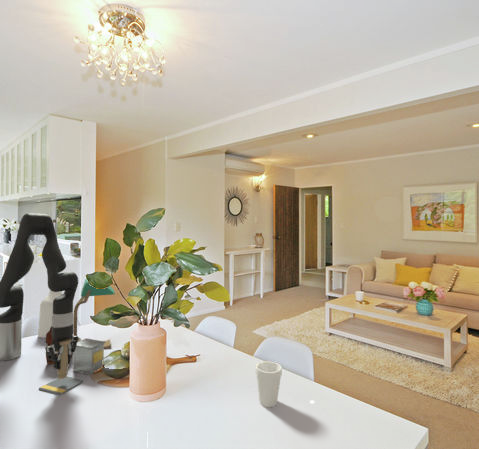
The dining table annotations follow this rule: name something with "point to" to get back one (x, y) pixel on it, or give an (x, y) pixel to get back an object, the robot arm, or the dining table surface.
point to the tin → (88, 356)
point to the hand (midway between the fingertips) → (62, 366)
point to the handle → (63, 359)
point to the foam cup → (268, 382)
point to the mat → (61, 385)
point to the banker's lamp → (85, 293)
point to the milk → (46, 313)
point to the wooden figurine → (49, 342)
